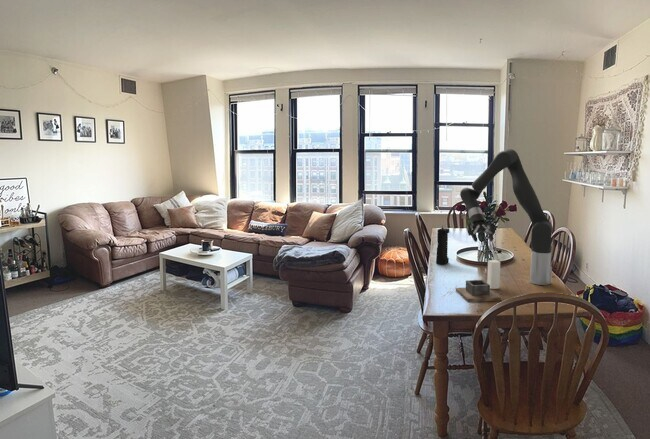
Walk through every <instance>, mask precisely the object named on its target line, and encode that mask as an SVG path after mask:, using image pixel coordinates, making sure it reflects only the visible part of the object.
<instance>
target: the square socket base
mask: <svg viewBox="0 0 650 439" xmlns="http://www.w3.org/2000/svg"><path fill="white" fill-rule="evenodd" d="M455 291H456V293H457V294H459V295H460V296H461V298H463V299H464V300H465V301H466V302H467V303H472V302H473V303H475V302H494V301H495V302H497V301H499V302H501V299H502V297H501V296H499V295H498V294H497V293H496V292H494V291H493V290H492V289H490V285H489V284H488V283H487V281H485V280H483V279H473V280H472V279H469V280H465V287H455Z"/></svg>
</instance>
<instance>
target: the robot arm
mask: <svg viewBox="0 0 650 439" xmlns="http://www.w3.org/2000/svg"><path fill="white" fill-rule="evenodd" d="M506 168H507V169H508V172H509V174H510V176H511V180H512V182H511V183H512V189H513V190H512V191H513V194H514V196H515V198H516V200H517V202H518V203H519V205H520V206H521V208H522V209H523V210H524V212H525V213H526V214H527V216H528V217H529V220H530V222H531V224H532V229H531V236H530V238H531V239H530V240H531V241H530V245H531V254H530V274H529V282H530V283H531V284H533V285H539V286H547V285H550V284H551V285H552V276H553V275H552V273H553V266H552V265H551V262H552V261H551V260H552V237H553V236H552V234H553V231H554V227H553V225H552V223H551V222H550V220H549V218H548V217H547V216H546V214H545V212H544V210H543V208H542V206H541V203H540V200H539V199H538V196H537V194H536V191H535V189H534V188H533V186H532V184H531V182H530V180H529V178H528V176H527V173H526V172H525V170H524V167H523V164H522V162H521V159H520V156H519V154H518V152H517V151H516V150H514V149H513V148H512V149H511V148H508V149H505V150H501V151H499V152H498V153H497V154H496V155H495V157H494V158H493V160H492V161H491V163H490V164H489V165H488V167H487V168H486V169H485V170H484V171H483V172H482V173H481V174H480V175H479V176H478V177H477V178H476V179H475V180H473V182H472V183H471V187H472V188H469V187H463V188H462V189H461V190H460V192H459V195H460V199H461V200H462V202H463V203H464V205H465V206H466V210H467V213H468V217H469V221H470V223H471V224H470V223H469V224H467V226H466V230H467V235H468V236H471V237H472V239H473V241H474V242H475V243H477V242H478V237H477V234H476V233H484V234H486V235H487V236H488V238H489V241H490V242H493V240H494V235H495V233H496V230H495V228H494V226H493V223H490V224H487V222H486V219H485V216H484V212H483V211H482V209H481V206H480V203H479V201H478V199H479V197H480V196H481V194H482V193H483V191H484V190H485V189H486V188H487V187H488V186H489V185H490V183H492V181H493V180H494V179H495V177H496V176H497V174H499V173H500V172H502V171H503V170H505V169H506ZM472 229H473V230H472Z"/></svg>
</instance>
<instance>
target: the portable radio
mask: <svg viewBox="0 0 650 439" xmlns="http://www.w3.org/2000/svg"><path fill="white" fill-rule="evenodd" d="M443 226H444V225H442V226H441V228H438V229H437V234H436V235H437V240H436V241H437V247H436V255H435V256H436V257H435V258H436V259H435V263H436V265H443V266H446V265H448V264H449V263H450V262H449V259H450V258H449V256H448V249H449V248H448V241H449V240H448V239H449V236H448V235H449V233H450V228H447V227H443Z"/></svg>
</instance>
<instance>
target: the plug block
mask: <svg viewBox="0 0 650 439" xmlns="http://www.w3.org/2000/svg"><path fill="white" fill-rule="evenodd" d="M500 281H501V261H499V260H497V259H492V260H491V259H490V260H487V280H486V283H488V284H489V285H490V290H492V289H493V290H495V289H500V283H501V282H500Z"/></svg>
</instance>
